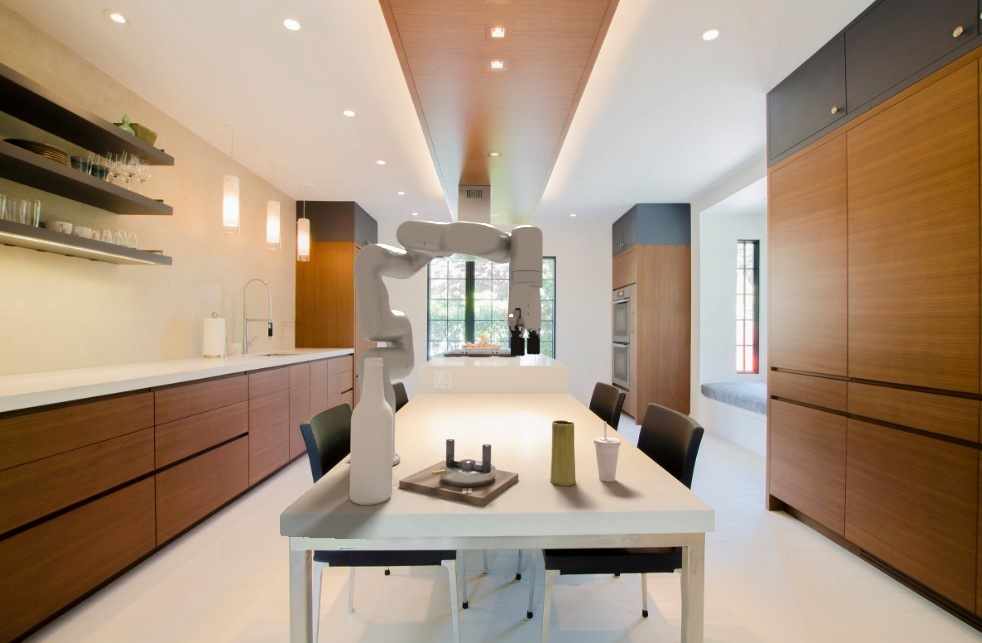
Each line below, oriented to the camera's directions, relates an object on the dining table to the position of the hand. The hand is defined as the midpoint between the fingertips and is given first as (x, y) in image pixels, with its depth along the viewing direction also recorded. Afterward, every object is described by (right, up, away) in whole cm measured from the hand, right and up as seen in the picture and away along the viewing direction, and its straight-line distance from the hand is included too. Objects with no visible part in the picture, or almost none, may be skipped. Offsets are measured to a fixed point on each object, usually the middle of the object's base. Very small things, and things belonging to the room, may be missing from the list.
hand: (525, 355), depth 96 cm
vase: (+9, -31, +5) cm, 33 cm away
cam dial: (-14, -29, +2) cm, 32 cm away
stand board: (-15, -31, +3) cm, 34 cm away
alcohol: (-34, -30, -6) cm, 46 cm away
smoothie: (+21, -31, +7) cm, 38 cm away
